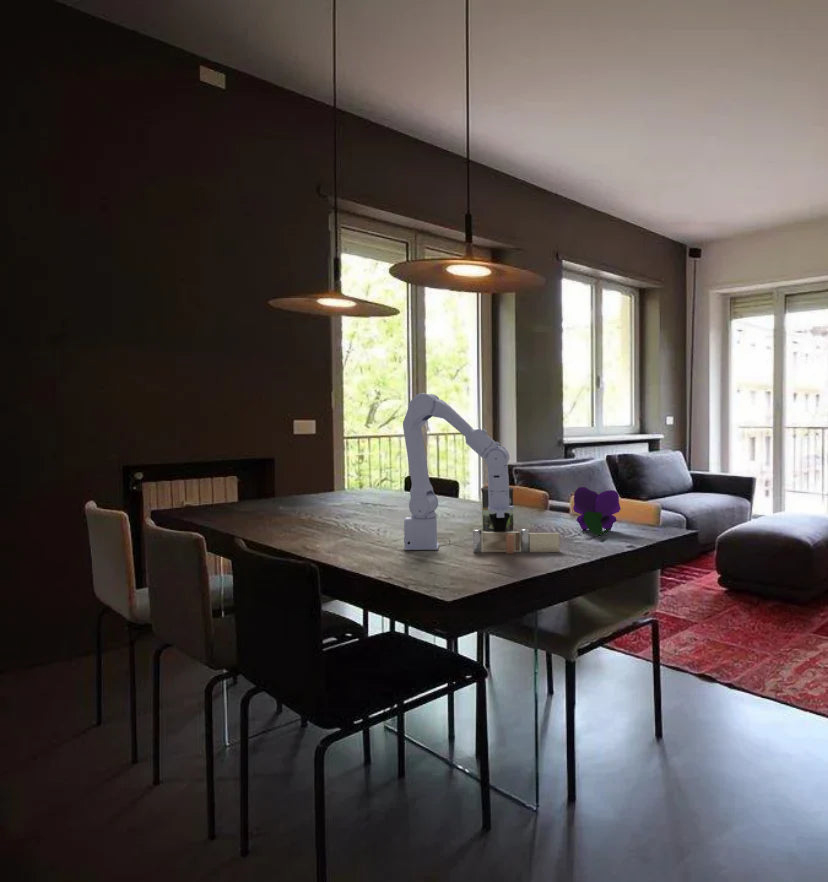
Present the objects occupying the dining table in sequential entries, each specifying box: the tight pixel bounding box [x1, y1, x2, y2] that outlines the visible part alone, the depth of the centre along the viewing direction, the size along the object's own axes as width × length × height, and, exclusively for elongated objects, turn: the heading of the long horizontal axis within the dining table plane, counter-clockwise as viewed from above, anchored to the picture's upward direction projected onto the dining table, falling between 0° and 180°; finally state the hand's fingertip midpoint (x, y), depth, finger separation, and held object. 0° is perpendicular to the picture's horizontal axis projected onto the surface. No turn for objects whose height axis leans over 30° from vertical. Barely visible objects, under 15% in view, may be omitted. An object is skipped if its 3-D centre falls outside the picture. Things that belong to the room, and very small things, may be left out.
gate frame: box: [472, 528, 560, 554], centre depth 175 cm, size 23×3×6 cm, turn 85°
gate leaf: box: [482, 531, 521, 552], centre depth 175 cm, size 10×2×5 cm, turn 85°
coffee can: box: [480, 486, 515, 533], centre depth 205 cm, size 10×10×14 cm
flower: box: [572, 486, 622, 537], centre depth 197 cm, size 15×15×14 cm
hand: (499, 539), depth 177 cm, fingers closed
